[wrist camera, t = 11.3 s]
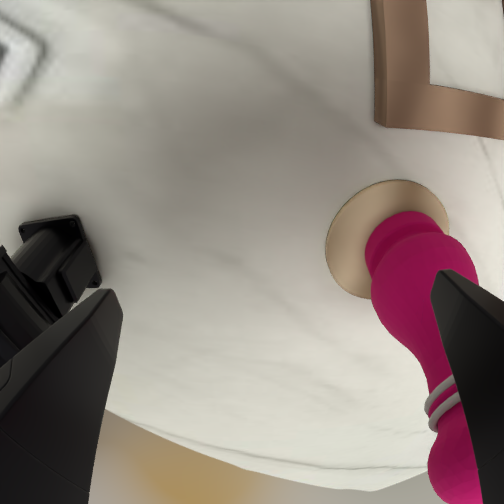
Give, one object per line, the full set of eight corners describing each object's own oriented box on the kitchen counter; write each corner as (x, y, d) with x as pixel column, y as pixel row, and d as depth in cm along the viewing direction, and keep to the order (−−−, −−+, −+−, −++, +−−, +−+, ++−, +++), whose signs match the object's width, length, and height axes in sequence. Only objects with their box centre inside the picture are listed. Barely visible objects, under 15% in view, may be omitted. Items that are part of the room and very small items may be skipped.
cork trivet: (322, 299, 25) (323, 304, 25) (327, 180, 20) (330, 184, 20) (430, 288, 25) (433, 292, 25) (455, 180, 20) (459, 184, 19)
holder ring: (374, 121, 18) (386, 127, 16) (359, -76, 10) (369, -87, 8) (523, 139, 17) (539, 147, 15) (520, -20, 10) (536, -21, 8)
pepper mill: (425, 184, 19) (601, 472, 2) (455, 255, 22) (564, 489, 5) (339, 239, 22) (405, 568, 5) (381, 299, 25) (439, 549, 8)
